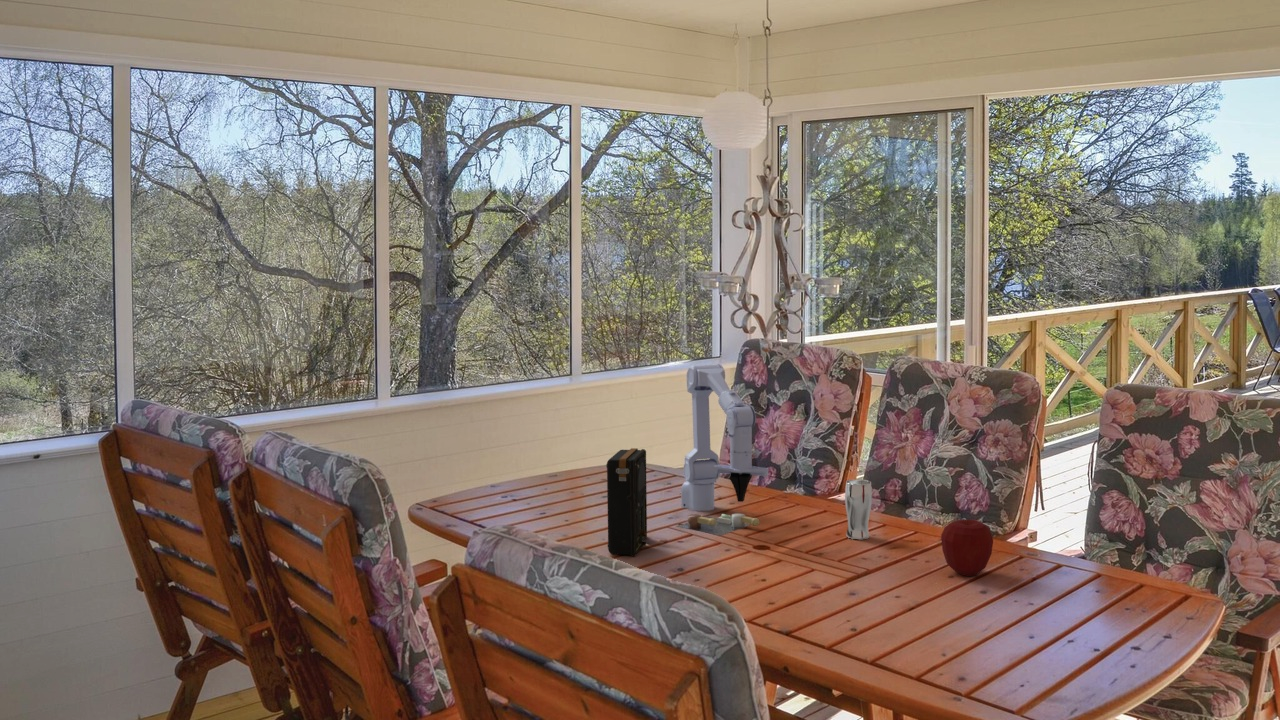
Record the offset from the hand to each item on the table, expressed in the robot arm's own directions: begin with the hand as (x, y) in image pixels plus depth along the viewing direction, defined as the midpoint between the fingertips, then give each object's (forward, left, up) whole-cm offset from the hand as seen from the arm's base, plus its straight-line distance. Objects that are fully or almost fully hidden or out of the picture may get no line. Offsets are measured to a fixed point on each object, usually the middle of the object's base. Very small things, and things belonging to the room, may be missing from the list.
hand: (741, 500), depth 275 cm
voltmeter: (-15, -29, -10) cm, 34 cm away
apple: (+61, +5, -10) cm, 62 cm away
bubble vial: (-8, +5, -8) cm, 13 cm away
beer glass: (+26, +17, -10) cm, 32 cm away
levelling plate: (-9, -1, -9) cm, 13 cm away
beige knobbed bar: (-10, -5, -8) cm, 14 cm away
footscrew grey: (-1, +3, -8) cm, 9 cm away
